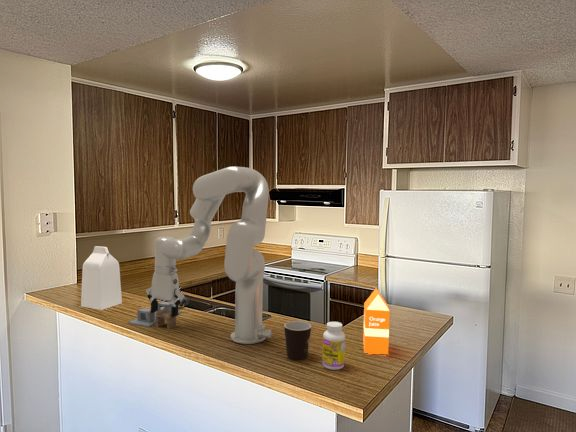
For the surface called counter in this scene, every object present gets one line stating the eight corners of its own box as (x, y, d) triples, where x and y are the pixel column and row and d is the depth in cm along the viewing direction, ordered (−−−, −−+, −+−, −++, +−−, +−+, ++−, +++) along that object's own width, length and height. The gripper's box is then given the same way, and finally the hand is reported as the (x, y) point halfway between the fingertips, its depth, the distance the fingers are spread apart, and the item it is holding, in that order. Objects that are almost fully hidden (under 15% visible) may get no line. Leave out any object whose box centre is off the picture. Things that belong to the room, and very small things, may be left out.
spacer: (176, 325, 156) (176, 312, 156) (169, 329, 152) (169, 314, 152) (162, 323, 159) (162, 309, 158) (155, 326, 155) (155, 312, 155)
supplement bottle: (318, 366, 122) (319, 324, 121) (328, 359, 128) (329, 318, 127) (338, 372, 119) (339, 329, 118) (348, 364, 124) (349, 323, 123)
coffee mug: (300, 364, 124) (301, 332, 123) (278, 357, 129) (278, 326, 128) (321, 352, 133) (321, 322, 132) (299, 346, 138) (300, 317, 137)
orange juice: (363, 354, 132) (365, 293, 131) (362, 343, 141) (364, 286, 140) (388, 355, 131) (390, 294, 130) (385, 345, 140) (387, 287, 139)
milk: (80, 306, 179) (79, 247, 177) (102, 299, 190) (101, 244, 188) (101, 310, 174) (100, 249, 173) (121, 303, 185) (121, 246, 183)
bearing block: (181, 312, 172) (181, 301, 172) (148, 327, 154) (148, 315, 154) (162, 309, 176) (162, 298, 176) (127, 323, 158) (127, 311, 157)
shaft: (188, 304, 181) (188, 297, 181) (165, 313, 167) (165, 306, 167) (181, 302, 183) (181, 296, 183) (158, 312, 169) (157, 305, 169)
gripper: (190, 270, 154) (189, 315, 155) (153, 265, 161) (153, 307, 162) (177, 274, 147) (176, 320, 149) (140, 268, 154) (139, 313, 155)
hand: (164, 314), depth 155 cm, fingers open, 9 cm apart
